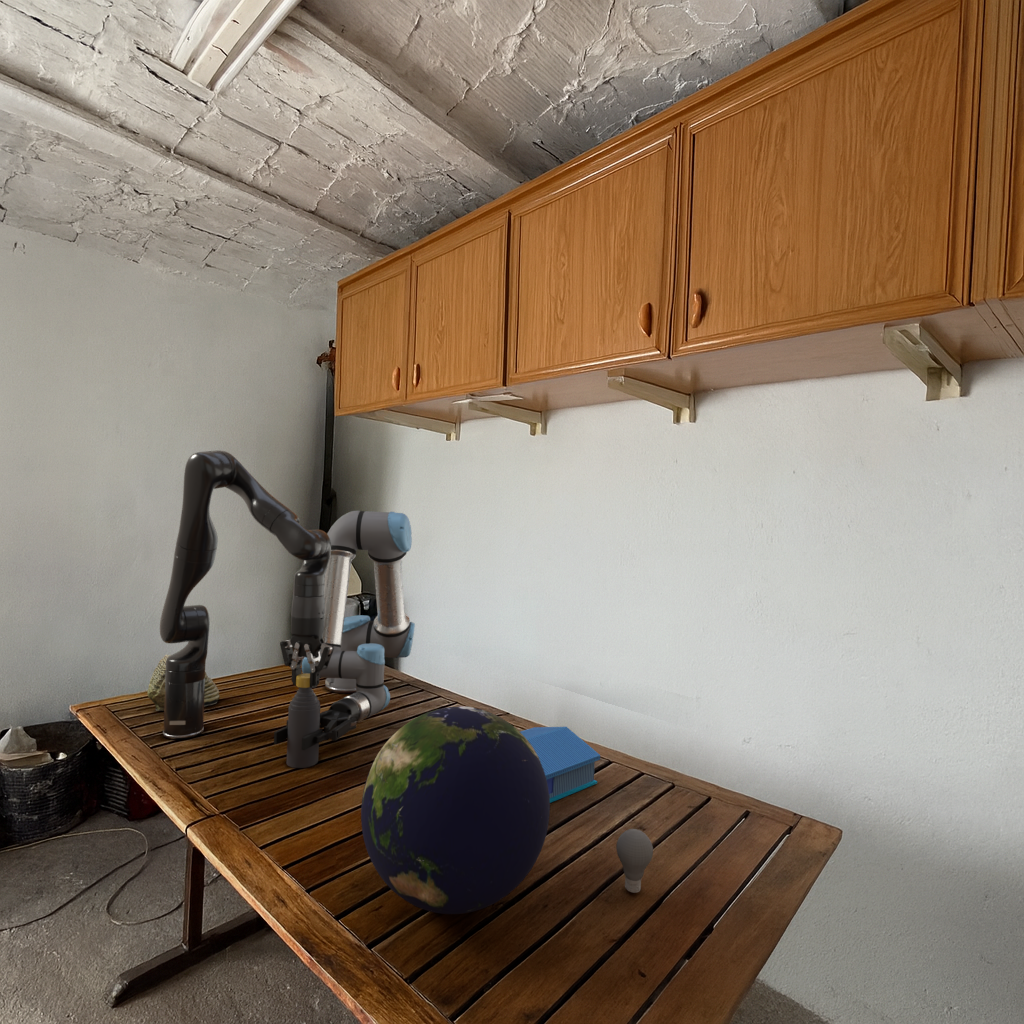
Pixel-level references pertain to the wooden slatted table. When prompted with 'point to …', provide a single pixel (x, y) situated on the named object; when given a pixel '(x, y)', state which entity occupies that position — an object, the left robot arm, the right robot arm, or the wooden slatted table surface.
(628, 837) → the light bulb
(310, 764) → the bottle
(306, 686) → the cap
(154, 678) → the fossil
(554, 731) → the model building
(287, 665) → the left robot arm
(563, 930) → the wooden slatted table surface
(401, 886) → the globe
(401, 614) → the right robot arm
